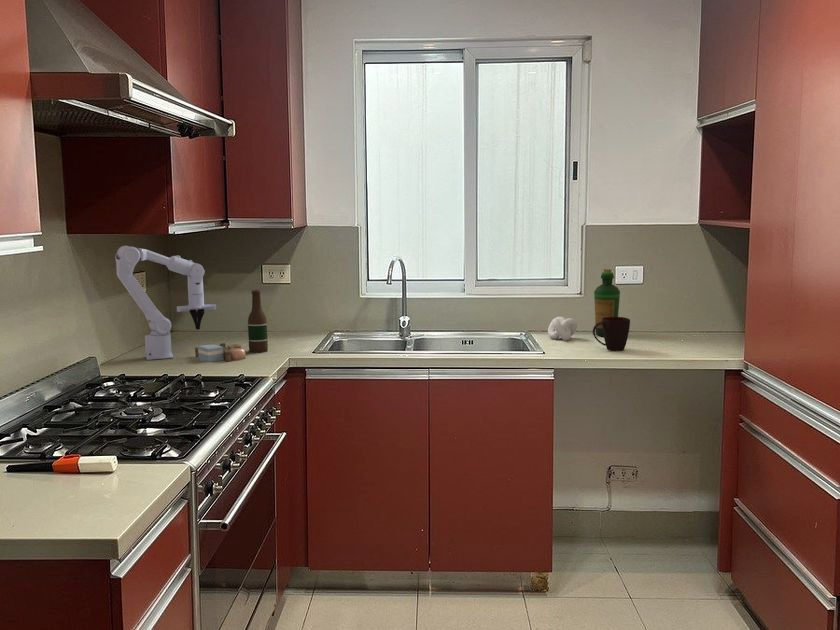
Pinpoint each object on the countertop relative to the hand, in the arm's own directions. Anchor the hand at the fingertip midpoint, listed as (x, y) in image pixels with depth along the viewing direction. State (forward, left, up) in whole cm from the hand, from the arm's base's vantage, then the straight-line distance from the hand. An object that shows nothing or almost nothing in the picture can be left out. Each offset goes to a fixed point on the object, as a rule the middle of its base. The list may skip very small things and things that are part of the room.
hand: (197, 329), depth 312 cm
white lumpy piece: (+142, -32, -10) cm, 146 cm away
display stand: (+4, -15, -9) cm, 18 cm away
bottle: (+163, -34, -10) cm, 167 cm away
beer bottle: (+22, -6, -10) cm, 25 cm away
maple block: (+12, -11, -10) cm, 19 cm away
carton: (+3, -15, -10) cm, 18 cm away
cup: (+146, -62, -10) cm, 159 cm away
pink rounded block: (+12, -18, -10) cm, 24 cm away
